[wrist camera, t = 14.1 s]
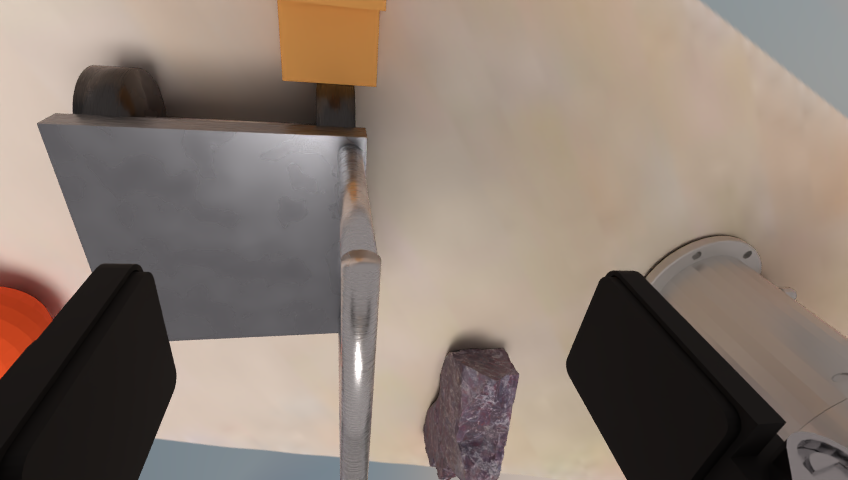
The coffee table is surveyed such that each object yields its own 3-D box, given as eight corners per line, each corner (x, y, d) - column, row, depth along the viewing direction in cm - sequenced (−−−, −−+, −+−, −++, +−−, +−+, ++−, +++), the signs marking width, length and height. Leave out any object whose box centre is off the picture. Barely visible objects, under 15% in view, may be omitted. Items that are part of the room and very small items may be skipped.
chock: (377, -85, 23) (391, -101, 17) (371, 73, 27) (381, 100, 22) (278, -100, 22) (260, -121, 16) (288, 67, 26) (276, 94, 21)
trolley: (360, 73, 27) (394, 215, 12) (355, 279, 35) (371, 517, 20) (104, 54, 24) (-289, 210, 9) (165, 284, 32) (17, 565, 17)
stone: (495, 425, 32) (427, 535, 38) (561, 425, 34) (487, 529, 41) (452, 327, 40) (403, 431, 47) (508, 333, 43) (454, 430, 49)
